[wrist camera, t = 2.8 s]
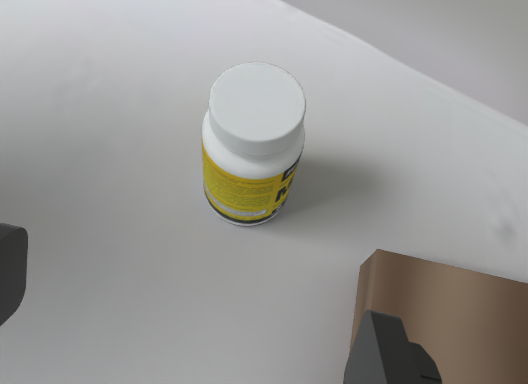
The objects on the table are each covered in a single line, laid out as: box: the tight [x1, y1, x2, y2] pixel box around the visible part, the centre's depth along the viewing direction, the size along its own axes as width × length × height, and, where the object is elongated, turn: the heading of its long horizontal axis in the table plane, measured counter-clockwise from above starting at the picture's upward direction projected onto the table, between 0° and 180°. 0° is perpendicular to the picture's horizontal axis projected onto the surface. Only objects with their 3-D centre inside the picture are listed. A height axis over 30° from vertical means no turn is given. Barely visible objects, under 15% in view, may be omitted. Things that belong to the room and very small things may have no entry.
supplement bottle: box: [202, 62, 306, 226], centre depth 23 cm, size 5×5×8 cm
